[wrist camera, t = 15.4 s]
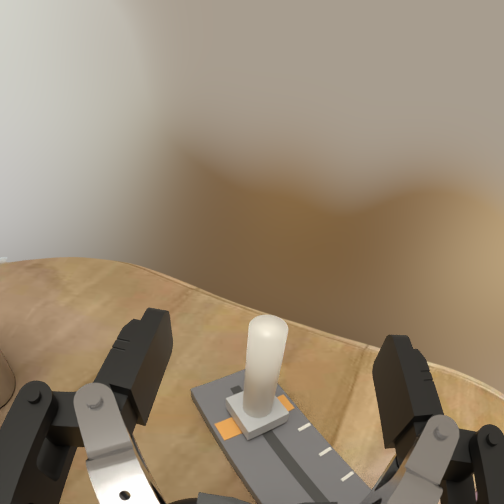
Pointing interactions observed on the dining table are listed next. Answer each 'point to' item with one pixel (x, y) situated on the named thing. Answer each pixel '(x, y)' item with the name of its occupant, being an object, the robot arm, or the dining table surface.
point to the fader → (261, 378)
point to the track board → (278, 452)
